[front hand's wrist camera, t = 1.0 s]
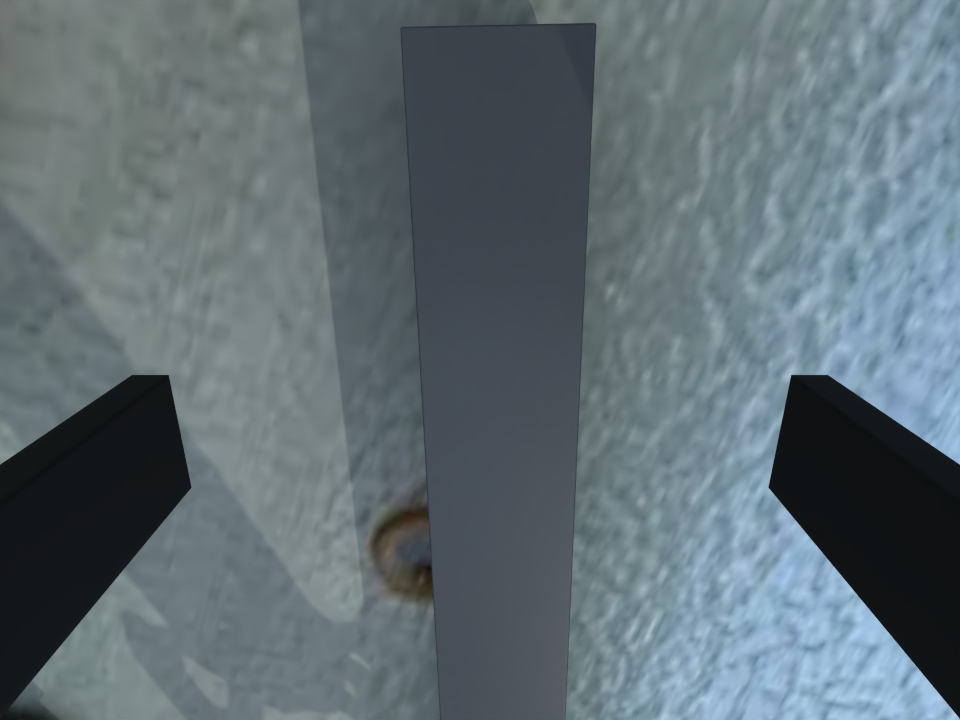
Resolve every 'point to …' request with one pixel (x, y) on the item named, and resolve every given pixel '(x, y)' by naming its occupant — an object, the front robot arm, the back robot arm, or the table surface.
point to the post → (500, 346)
